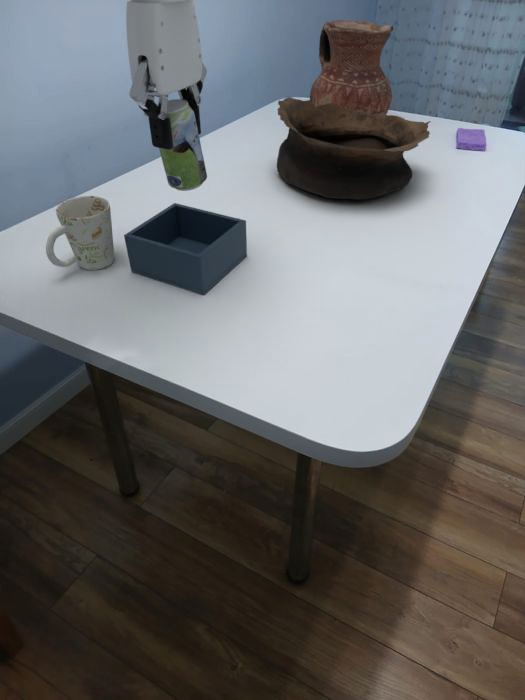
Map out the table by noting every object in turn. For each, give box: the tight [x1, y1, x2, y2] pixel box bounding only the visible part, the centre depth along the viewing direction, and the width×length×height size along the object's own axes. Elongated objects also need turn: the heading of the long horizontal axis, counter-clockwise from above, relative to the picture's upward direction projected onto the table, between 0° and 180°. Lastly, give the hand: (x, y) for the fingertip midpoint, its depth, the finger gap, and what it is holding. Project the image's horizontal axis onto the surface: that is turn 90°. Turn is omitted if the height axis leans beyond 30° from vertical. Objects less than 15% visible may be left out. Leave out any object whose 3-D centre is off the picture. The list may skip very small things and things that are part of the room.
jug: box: [309, 19, 394, 116], centre depth 132 cm, size 22×21×25 cm
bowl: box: [276, 96, 432, 200], centre depth 108 cm, size 34×33×15 cm
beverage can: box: [156, 98, 208, 192], centre depth 72 cm, size 6×7×12 cm
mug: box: [45, 195, 115, 271], centre depth 81 cm, size 8×13×10 cm, turn 148°
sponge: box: [455, 127, 488, 152], centre depth 130 cm, size 7×13×2 cm, turn 164°
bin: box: [123, 202, 248, 296], centre depth 82 cm, size 15×14×7 cm
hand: (177, 139), depth 71 cm, fingers closed on beverage can, 6 cm apart
